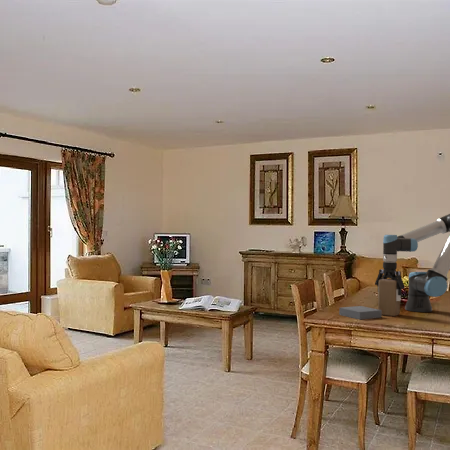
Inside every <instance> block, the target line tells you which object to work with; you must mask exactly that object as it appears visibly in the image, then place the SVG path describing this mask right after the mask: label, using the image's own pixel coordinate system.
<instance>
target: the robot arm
mask: <svg viewBox="0 0 450 450" xmlns="http://www.w3.org/2000/svg"><path fill="white" fill-rule="evenodd" d="M446 233H450V213H448V214H446V215H443V216H440V217H439V218H437V219H436V220H435V221H433V222H431V223H428V224H425V225H424V226H420V227H418V228H416V229H413V230H410V231H408V232H405V233H403V234H401V235H397V234H384V235H383V239H382V244H383V245H382V247H383V248H382V249H383V250H382V251H383V252H382V268H383V269H382V268H381V269H379V270H378V274H377V277H376V280H375V281H374V285H375V286H377V291H378V290H379V280H381V279H392V280H395V281H397V289H396V301H400V302H401V297H402V293H403V292H402V290H403V289H406V288H405V287H406V286H405V284H404V280H403V278H402V275H401V274H402V273H401V271H400V270H399V271H397V267H398V264H397V261H398V252H403V253H404V252H407V253H408V252H416V251H417V250H418V247H419V242H422V241H424V240H427V239H429V238H431V237H434V236H437V235H439V234H443V235H444V234H446ZM449 271H450V234H449V236H448V237H447V240H446V241H445V243H444V244H443V246H442V249H441V250H440V251H439V254H438V256H437V258H436V260H435V262H434V263H433V266H432V267H431V268H428V269H427V271H414V272H413V271H412V272H410V273H409V274H408V297H407V300H406V303H405V306H404V309H405V311H409V312H414V313H431V312H433V306H432V304H431V299H430V297H435V298H436V297H441V296H442V295H444V294H445V293H446V292H447V289H448V282H447V281H448V279H449V278H448V273H449Z"/></svg>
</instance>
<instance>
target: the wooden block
mask: <svg viewBox="0 0 450 450" xmlns="http://www.w3.org/2000/svg"><path fill="white" fill-rule="evenodd" d="M396 289H397V281H395V280H392V279H391V278H387V279H381V280H379V290H378V289H377V294H378V296H377V298H378V299H377V300H378V302H377V305H378V306H377V309H378V310H382V313H381V316H387V317H396V316H398V315H400V312H401V301H396Z"/></svg>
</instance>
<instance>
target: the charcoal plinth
mask: <svg viewBox="0 0 450 450" xmlns="http://www.w3.org/2000/svg"><path fill="white" fill-rule="evenodd" d="M338 308H339V311H338V314H339V316H343V317H347V318H351V319H357V320H361V321H362V320H369V319H379V318H382V315H381V313H382V310H378V308H373V307H367V306H364V305H363V306H362V305H358V306H356V305H355V306H344V307H343V306H342V307H338Z"/></svg>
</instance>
